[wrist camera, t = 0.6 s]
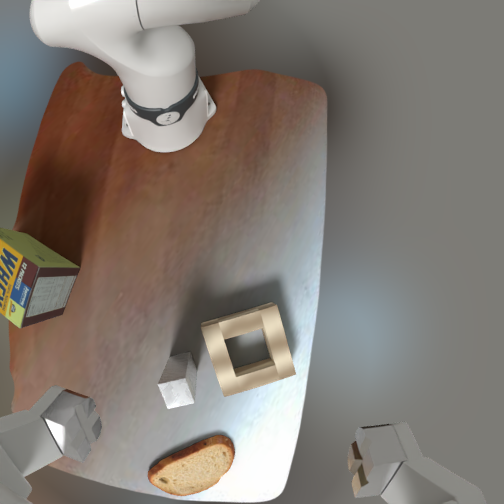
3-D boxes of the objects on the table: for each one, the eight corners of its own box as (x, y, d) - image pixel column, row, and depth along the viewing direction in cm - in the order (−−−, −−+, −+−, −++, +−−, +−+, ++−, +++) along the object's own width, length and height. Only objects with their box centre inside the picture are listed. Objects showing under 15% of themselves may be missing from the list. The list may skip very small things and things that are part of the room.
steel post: (169, 356, 51) (157, 384, 37) (190, 351, 51) (185, 378, 38) (176, 376, 51) (168, 408, 37) (197, 371, 51) (194, 402, 37)
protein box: (26, 232, 48) (-20, 222, 32) (81, 267, 49) (40, 266, 34) (9, 278, 46) (-37, 280, 31) (62, 316, 48) (20, 330, 33)
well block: (201, 322, 52) (200, 327, 48) (271, 302, 54) (277, 305, 50) (222, 387, 52) (224, 396, 47) (289, 366, 54) (296, 374, 49)
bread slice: (236, 434, 52) (238, 444, 48) (229, 494, 51) (231, 504, 47) (146, 425, 49) (143, 434, 46) (149, 486, 48) (147, 496, 45)
